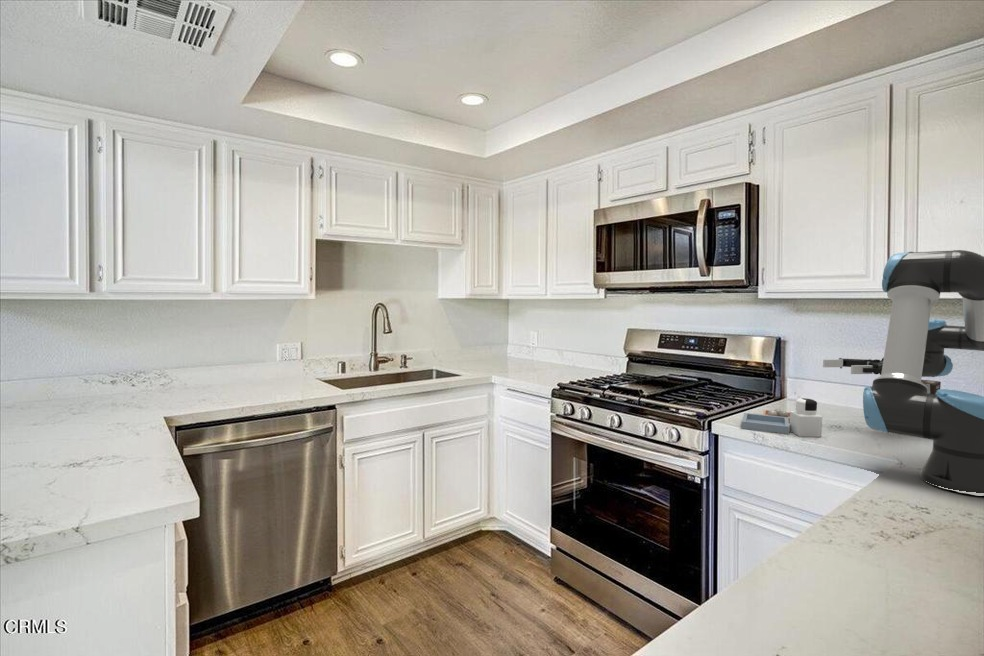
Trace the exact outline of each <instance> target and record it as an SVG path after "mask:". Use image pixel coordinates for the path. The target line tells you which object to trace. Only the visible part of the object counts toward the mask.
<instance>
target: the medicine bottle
mask: <svg viewBox="0 0 984 656" xmlns="http://www.w3.org/2000/svg"><path fill="white" fill-rule="evenodd" d="M817 406H818V402H817V400H815V399H811V398H803V397H801V398H797V399H796V401H795V410H790V411H789V412H790V423H789V432H791V433H792V432H793V433H792V434H794V435H796V436H798V437H802V438H803V437H805V438H806V437H807V438H821V437H822V433H823V432H822V431H823V430H822V429H823V416H822V415H820V414H817V411H818V409H817V408H818V407H817Z"/></svg>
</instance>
